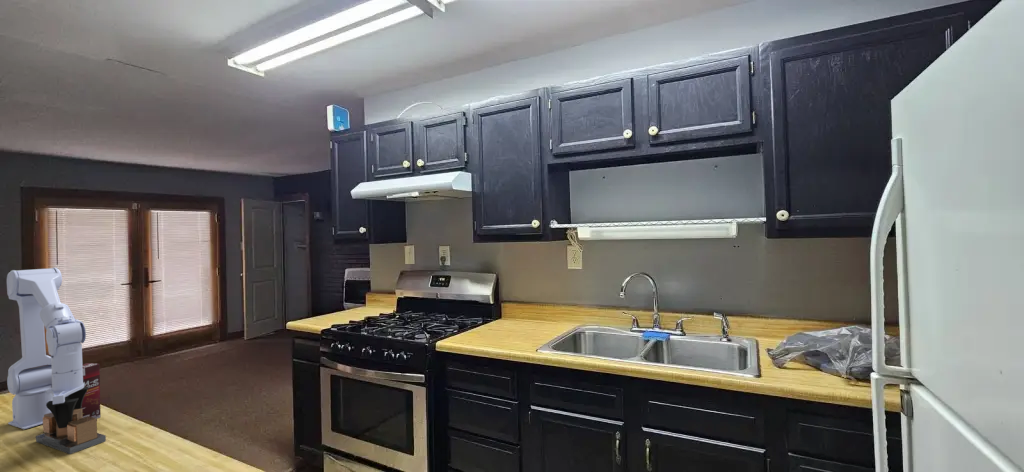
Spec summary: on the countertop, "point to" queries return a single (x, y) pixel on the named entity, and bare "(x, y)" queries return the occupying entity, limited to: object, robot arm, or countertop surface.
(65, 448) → the rail
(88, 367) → the supplement box
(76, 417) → the brown wooden block
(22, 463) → the countertop surface
